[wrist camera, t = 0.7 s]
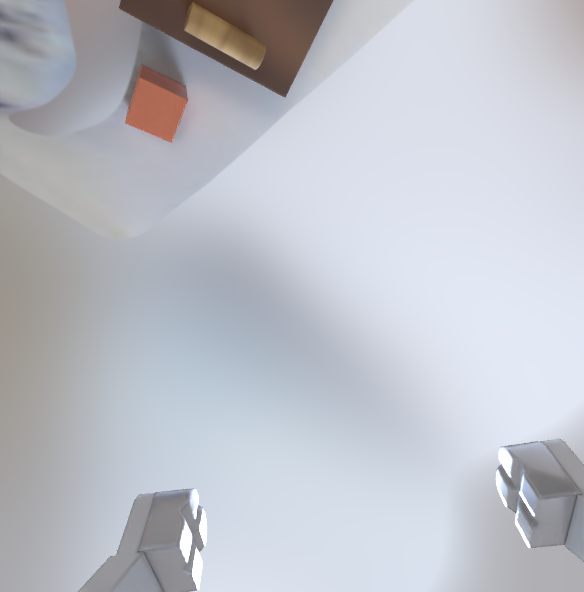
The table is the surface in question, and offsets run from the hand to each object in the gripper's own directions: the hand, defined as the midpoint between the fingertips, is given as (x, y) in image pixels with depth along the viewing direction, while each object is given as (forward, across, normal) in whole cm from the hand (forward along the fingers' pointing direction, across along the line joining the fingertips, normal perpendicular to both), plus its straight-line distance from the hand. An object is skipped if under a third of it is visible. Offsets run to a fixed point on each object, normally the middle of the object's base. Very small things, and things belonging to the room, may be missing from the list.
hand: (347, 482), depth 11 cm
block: (+40, +12, -10) cm, 43 cm away
